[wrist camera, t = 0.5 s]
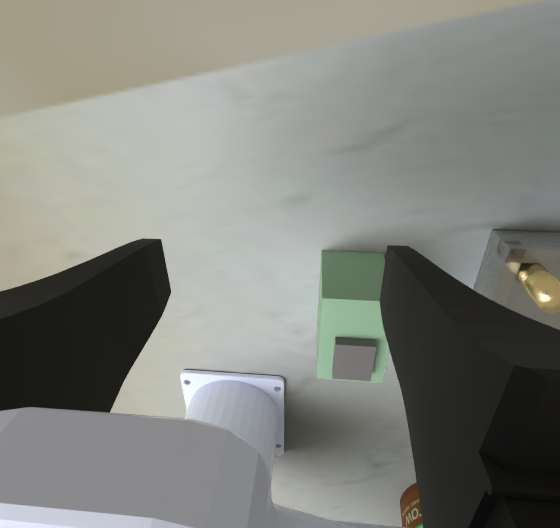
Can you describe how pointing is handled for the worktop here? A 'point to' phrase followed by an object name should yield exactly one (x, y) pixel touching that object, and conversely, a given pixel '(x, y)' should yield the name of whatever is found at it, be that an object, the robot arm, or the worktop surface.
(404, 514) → the food container
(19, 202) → the worktop surface
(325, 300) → the block
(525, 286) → the chassis
